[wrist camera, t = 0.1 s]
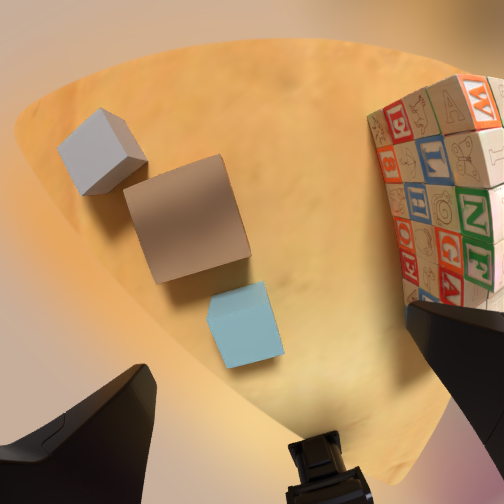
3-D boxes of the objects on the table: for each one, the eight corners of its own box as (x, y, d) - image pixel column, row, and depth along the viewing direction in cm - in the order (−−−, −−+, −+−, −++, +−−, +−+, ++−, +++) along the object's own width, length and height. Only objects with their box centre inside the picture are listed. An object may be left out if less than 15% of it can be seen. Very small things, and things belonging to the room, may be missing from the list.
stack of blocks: (447, 306, 25) (519, 358, 13) (404, 328, 25) (473, 397, 13) (416, 107, 20) (510, 78, 8) (363, 114, 20) (458, 70, 8)
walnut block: (249, 243, 22) (251, 255, 19) (169, 268, 23) (156, 284, 19) (223, 159, 21) (219, 153, 17) (141, 188, 21) (122, 189, 17)
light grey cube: (148, 161, 20) (127, 156, 16) (107, 193, 21) (80, 196, 16) (124, 119, 19) (100, 107, 15) (85, 152, 20) (56, 148, 15)
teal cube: (277, 325, 24) (284, 353, 20) (228, 339, 24) (227, 368, 20) (263, 280, 23) (269, 302, 19) (211, 295, 23) (206, 319, 19)
